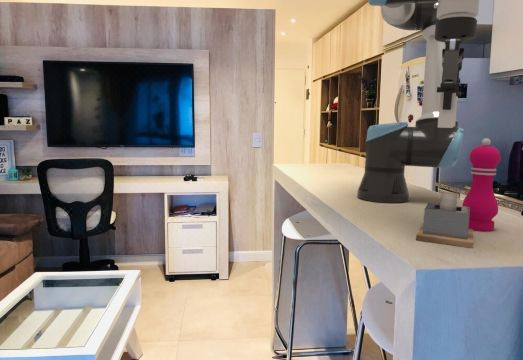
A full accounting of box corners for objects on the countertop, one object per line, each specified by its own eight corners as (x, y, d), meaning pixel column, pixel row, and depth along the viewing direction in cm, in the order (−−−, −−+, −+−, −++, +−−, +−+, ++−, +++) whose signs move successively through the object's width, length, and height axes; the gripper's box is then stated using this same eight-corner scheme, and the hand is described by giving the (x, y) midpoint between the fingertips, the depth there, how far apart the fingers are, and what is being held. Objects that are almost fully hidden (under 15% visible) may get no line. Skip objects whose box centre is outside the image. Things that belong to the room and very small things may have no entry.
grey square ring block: (426, 225, 91) (428, 202, 90) (467, 230, 87) (470, 206, 87) (422, 233, 84) (424, 208, 83) (467, 239, 80) (469, 213, 80)
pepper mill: (501, 233, 90) (510, 139, 88) (464, 230, 92) (473, 138, 89) (490, 225, 97) (498, 138, 95) (456, 223, 99) (464, 137, 96)
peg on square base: (422, 227, 93) (425, 187, 92) (472, 233, 89) (476, 191, 88) (415, 240, 82) (419, 194, 81) (472, 248, 78) (477, 200, 77)
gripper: (439, 31, 96) (432, 125, 100) (430, 6, 74) (421, 127, 77) (476, 29, 93) (467, 126, 96) (478, 1, 71) (466, 128, 74)
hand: (446, 127), depth 87 cm, fingers open, 13 cm apart
